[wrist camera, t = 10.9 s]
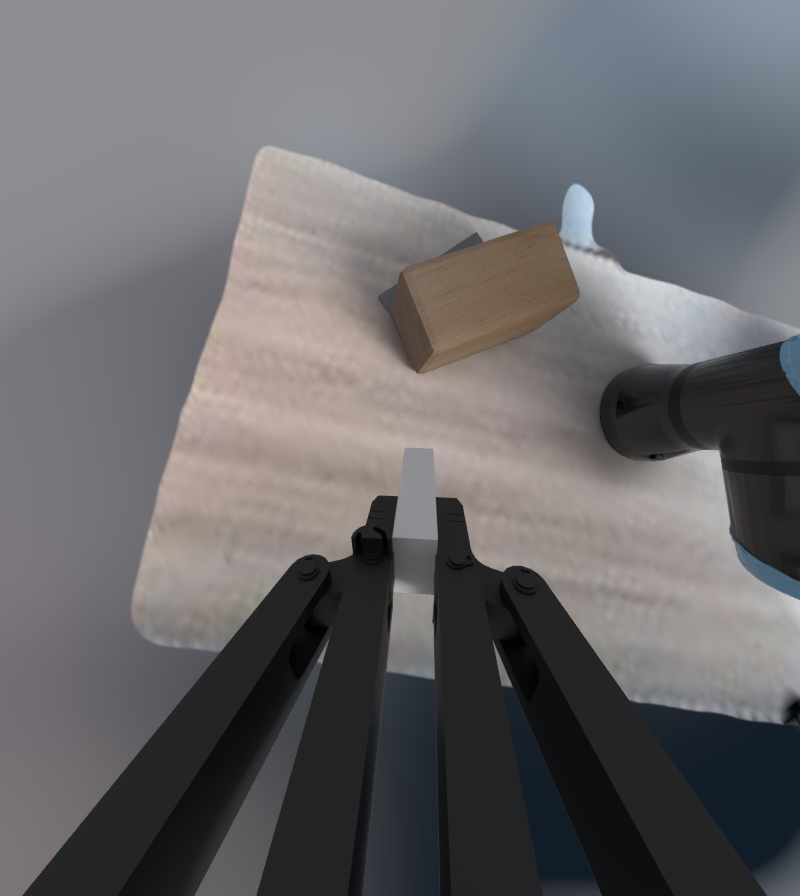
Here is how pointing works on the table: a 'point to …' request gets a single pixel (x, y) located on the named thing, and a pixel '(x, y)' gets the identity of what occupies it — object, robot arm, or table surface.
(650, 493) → the table surface
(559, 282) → the block
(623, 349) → the table surface
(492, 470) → the table surface
